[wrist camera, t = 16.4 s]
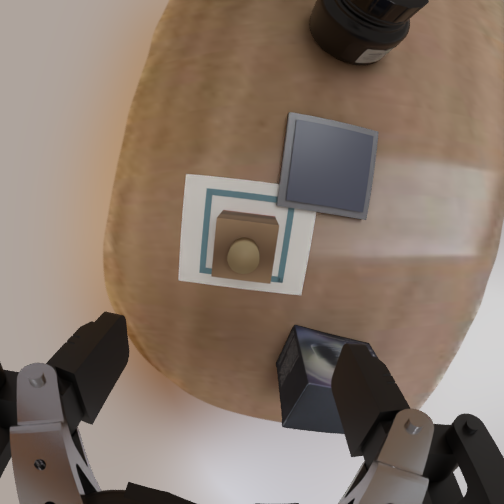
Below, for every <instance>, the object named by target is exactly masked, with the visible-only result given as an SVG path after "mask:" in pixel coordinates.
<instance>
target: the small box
mask: <svg viewBox="0 0 504 504" xmlns="http://www.w3.org/2000/svg"><path fill="white" fill-rule="evenodd" d="M346 343H349V344H365V345H366V346H367V348H368V350H369V351H370V353H371V355H372V357H377V356H376V354H375V352H374V351H373V349H372V347H371V346H370V344H369V343H365V342H361V341H357V340H352V339H348V338H344V337H340V336H336V335H332V334H328V333H324V332H320V331H316V330H313V329H309V328H305V327H302V326H298V325H294V327H293V329H292V330H291V333H290V335H289V337H288V339H287V341H286V343H285V345H284V348H283V350H282V352H281V354H280V356H279V358H278V360H277V362H276V367H277V374H278V381H279V392H280V402H281V411H282V427H285V428H293V429H300V430H308V431H316V432H326V433H340V434H345V433H344V430H343V427H342V423H341V420H340V417H339V413H338V410H337V407H336V403H335V400H334V397H333V394H332V390H331V380H332V375H333V372H334V370H335V367H336V364H337V361H338V358H339V356H340V353H341V350H342V347H343V345H344V344H346ZM377 358H378V357H377Z"/></svg>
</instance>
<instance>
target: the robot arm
mask: <svg viewBox="0 0 504 504" xmlns="http://www.w3.org/2000/svg"><path fill="white" fill-rule="evenodd" d="M128 357H129V345H128V336H127V326H126V319H125V317H124V316H123V315H119V314H114V313H109V312H104V313H103V314H102V315H101V316H100V317H99V318H98V319H97V320H96V321H95V322H89V323H88V324H85V325H83V326H81V327H80V328H79V329H78V330H77V331H76V332H75V333H74V334H73V336H71V337H70V338H69V339H68V341H67V343H65V344H64V345H63V346H62V347H61V348H60V349H59V350H58V351H57V352H56V353H55V354H54V355H53V357H52V358H51V359H50V360H49V361H48V362H47V363H46V364H44V363H33V364H30V365H27V366H25V367H24V368H23V369H21V371H20V372H14V371H8V370H3V368H2V366H1V363H0V477H1V475H2V473H3V471H4V469H5V468H6V466H7V464H8V462H9V460H10V458H11V456H12V464H13V470H14V477H15V483H16V488H17V493H18V498H19V502H20V504H196V503H193V502H191V501H188V500H185V499H183V498H181V497H178V496H176V495H173V494H171V493H169V492H165V491H160V490H156V489H152V488H148V487H145V486H141V485H137V484H134V483H131V482H128V485H127V488H126V490H105V491H101V489H100V487H99V485H98V483H97V481H96V479H95V477H94V475H93V472H92V470H91V467H90V464H89V462H88V458H87V455H86V452H85V449H84V446H83V442H82V439H81V436H80V432H79V429H78V427H77V426H78V425H79V423H80V421H81V420H82V421H84V422H86V423H89V424H93V423H94V421H95V419H96V417H97V415H98V413H99V412H100V410H101V408H102V406H103V404H104V403H105V401H106V399H107V397H108V395H109V394H110V392H111V390H112V389H113V387H114V385H115V383H116V382H117V380H118V378H119V377H120V375H121V373H122V371H123V370H124V368H125V366H126V365H127V362H128ZM331 390H332V394H333V397H334V400H335V403H336V407H337V410H338V413H339V417H340V420H341V423H342V427H343V430H344V433H345V437H346V440H347V444H348V447H349V451H350V454H351V457H356V456H364V459H365V461H364V463H363V464H362V465H361V467H360V469H359V471H358V473H357V474H356V476H355V478H354V479H353V481H352V483H351V484H350V486H349V487H348V489H347V491H346V492H345V494H344V495H343V497H342V499H341V500H340V501H339V503H338V504H504V458H503V456H502V454H501V452H500V451H499V449H498V447H497V445H496V444H495V442H494V440H493V439H492V437H491V435H490V434H489V432H488V430H487V429H486V427H485V425H484V424H483V422H482V421H481V420H480V419H479V418H477V417H475V416H474V415H471V414H461V415H459V416H458V417H457V418H456V419H455V420H454V422H453V423H452V425H441V424H433V422H432V420H431V418H430V417H429V416H428V415H427V414H425V413H423V412H422V411H419V410H416V409H410V407H409V405H408V403H407V401H406V400H405V398H404V396H403V394H402V393H401V391H400V389H399V387H398V386H397V384H396V383H395V380H394V379H393V377H392V376H391V374H390V372H389V370H388V368H387V367H386V365H385V364H384V363H383V362H381V361H380V360H379V359H378V358H377V357H372V355H371V353H370V351H369V350H368V348H367V346H366V345H365V344H349V343H346V344H344V345H343V347H342V350H341V353H340V356H339V358H338V361H337V364H336V367H335V370H334V372H333V375H332V380H331ZM458 466H459V467H460V469H461V472H462V474H463V476H464V478H465V481H466V483H467V487H468V488H467V493H466V495H465V497H464V498H463V495H462V493H461V490H460V488H459V485H458V483H457V480H456V478H455V476H454V474H453V471H454V470H455V469H456V468H457V467H458ZM291 504H292V503H291ZM293 504H299V503H293Z"/></svg>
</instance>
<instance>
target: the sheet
mask: <svg viewBox="0 0 504 504" xmlns="http://www.w3.org/2000/svg"><path fill="white" fill-rule="evenodd" d="M278 189H279V184H274V183H266V182H259V181H251V180H243V179H234V178H225V177H215V176H205V175H193V174H186V181H185V191H184V202H183V213H182V226H181V241H180V258H179V280H180V281H187V282H194V283H201V284H209V285H216V286H224V287H232V288H240V289H248V290H257V291H265V292H274V293H283V294H293V295H301V293H302V288H303V283H304V278H305V273H306V268H307V263H308V257H309V252H310V246H311V241H312V235H313V229H314V223H315V217H316V212H315V211H309V210H302V209H295V208H288V207H281V206H277V205H276V203H277V196H278ZM223 210H228V211H237V212H245V213H253V214H261V215H269V216H275V218H276V220H277V222H278V224H279V231H278V238H277V244H276V251H275V258H274V264H273V270H272V277H271V283H270V284H267V283H259V282H251V281H242V280H234V279H226V278H218V277H211V274H212V262H213V251H214V241H215V230H216V220H217V217H218V216H219V215H220V213H221V212H222V211H223Z"/></svg>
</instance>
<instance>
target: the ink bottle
mask: <svg viewBox="0 0 504 504" xmlns="http://www.w3.org/2000/svg"><path fill="white" fill-rule="evenodd" d="M428 2H429V1H428V0H317V1H316V4H315V6H314V9H313V11H312V14H311V17H310V31H311V34H312V36H313V38H314V40H315V41H316V43H317V44H318V45H319V46H320V47H321V48H322V49H323V50H324V51H326V52H327V53H328V54H330V55H332V56H333V57H335V58H337V59H339V60H341V61H344V62H347V63H350V64H355V65H368V64H372V63H374V62H376V61H378V60H380V59H381V58H382V57H383V56H385V55H386V54H387V53H388V52H390V51H391V50H392V49H393V48H394V47H396V46H397V45H398V44H399V43H400V42H401V41H403V40H404V38H405V37H406V36H407V34H408V32H409V28H410V18H411V17H412V16H413V15H415V14H416V13H417V12H418V11H419V10H420V9H422V8H423V7H424V6H425V5H426V4H427V3H428Z"/></svg>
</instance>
